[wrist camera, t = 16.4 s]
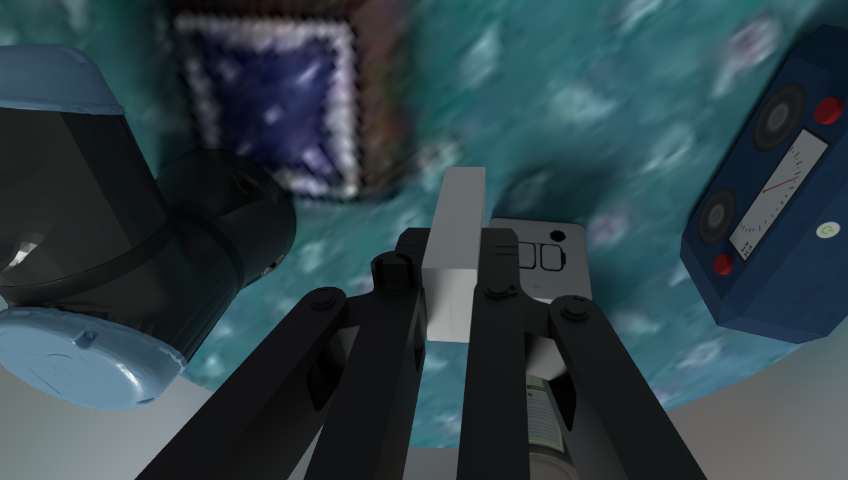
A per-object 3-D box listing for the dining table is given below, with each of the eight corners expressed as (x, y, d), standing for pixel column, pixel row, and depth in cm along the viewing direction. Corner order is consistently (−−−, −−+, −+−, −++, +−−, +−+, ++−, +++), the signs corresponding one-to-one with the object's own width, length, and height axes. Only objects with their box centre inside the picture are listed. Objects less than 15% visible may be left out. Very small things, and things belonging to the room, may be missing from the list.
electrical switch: (584, 222, 46) (598, 289, 38) (574, 261, 49) (584, 329, 42) (488, 215, 47) (484, 278, 40) (485, 253, 50) (480, 318, 43)
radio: (793, 16, 34) (1069, 94, 17) (912, 42, 34) (1306, 146, 17) (661, 245, 46) (750, 421, 29) (749, 265, 45) (888, 453, 29)
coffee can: (585, 373, 57) (606, 486, 45) (529, 411, 62) (535, 521, 50) (519, 332, 55) (524, 440, 43) (467, 375, 60) (458, 481, 48)
